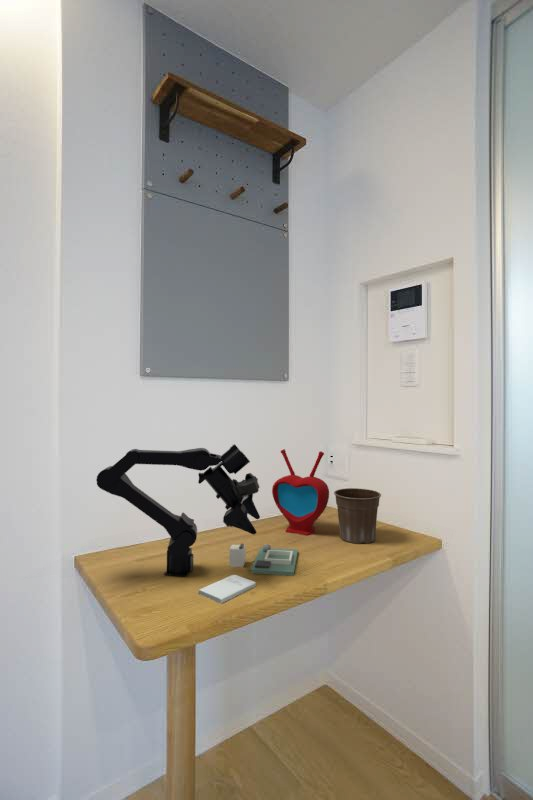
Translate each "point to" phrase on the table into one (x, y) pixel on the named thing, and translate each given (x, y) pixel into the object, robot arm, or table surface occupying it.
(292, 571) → the board
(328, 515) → the table surface
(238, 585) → the external hard drive
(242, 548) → the plug
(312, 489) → the novelty television
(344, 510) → the plant pot
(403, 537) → the table surface
